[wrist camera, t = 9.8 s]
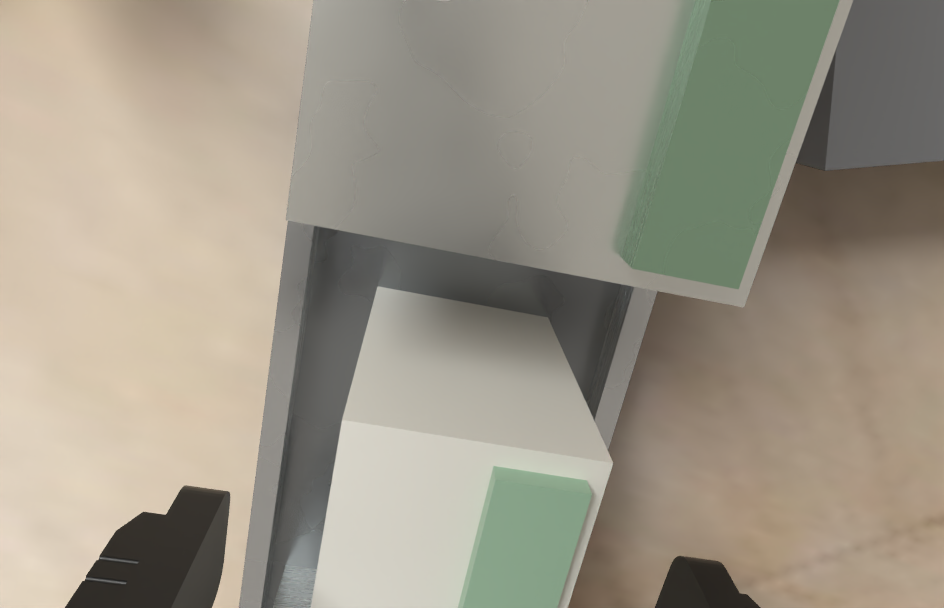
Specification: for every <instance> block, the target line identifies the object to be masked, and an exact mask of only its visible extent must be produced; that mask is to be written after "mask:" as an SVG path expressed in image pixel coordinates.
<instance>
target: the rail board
mask: <svg viewBox="0 0 944 608" xmlns="http://www.w3.org/2000/svg"><path fill="white" fill-rule="evenodd" d="M852 2H853V0H313V8H312V16H311V24H310V32H309V40H308V48H307V56H306V64H305V72H304V79H303V87H302V95H301V103H300V111H299V119H298V127H297V135H296V143H295V151H294V159H293V167H292V175H291V183H290V191H289V199H288V207H287V215H286V220H288V225H287V232H286V240H285V248H284V256H283V264H282V272H281V280H280V288H279V296H278V303H277V311H276V319H275V327H274V335H273V343H272V351H271V359H270V367H269V375H268V382H267V390H266V398H265V406H264V414H263V422H262V430H261V438H260V446H259V453H258V461H257V469H256V477H255V485H254V493H253V501H252V509H251V517H250V525H249V532H248V540H247V548H246V556H245V564H244V572H243V580H242V588H241V596H240V603H239V608H311V602H312V596H313V590H314V584H315V578H316V572H317V566H318V560H319V554H320V548H321V542H322V536H323V530H324V524H325V518H326V512H327V506H328V500H329V494H330V488H331V483H332V477H333V471H334V465H335V459H336V453H337V447H338V441H339V435H340V429H341V423H342V418H343V414H344V410H345V407H346V403H347V399H348V395H349V392H350V388H351V384H352V380H353V377H354V373H355V369H356V365H357V362H358V358H359V354H360V350H361V347H362V343H363V339H364V335H365V332H366V328H367V324H368V320H369V317H370V313H371V309H372V305H373V302H374V298H375V294H376V290H377V287H378V286H379V287H384V288H390V289H395V290H401V291H406V292H412V293H417V294H423V295H428V296H434V297H439V298H445V299H450V300H456V301H461V302H466V303H472V304H477V305H483V306H488V307H494V308H499V309H505V310H510V311H516V312H521V313H527V314H532V315H538V316H543V317H548V319H549V321H550V323H551V325H552V328H553V330H554V332H555V334H556V337H557V339H558V341H559V343H560V345H561V348H562V350H563V352H564V354H565V357H566V359H567V361H568V363H569V365H570V368H571V370H572V372H573V374H574V377H575V379H576V381H577V383H578V386H579V388H580V390H581V392H582V394H583V397H584V399H585V401H586V403H587V406H588V408H589V410H590V412H591V414H592V417H593V419H594V421H595V423H596V426H597V428H598V430H599V432H600V434H601V437H602V439H603V441H604V443H605V446H606V448H607V450H608V449H609V446H610V443H611V440H612V436H613V433H614V430H615V427H616V423H617V420H618V417H619V414H620V411H621V407H622V404H623V401H624V398H625V394H626V391H627V388H628V385H629V382H630V378H631V375H632V372H633V369H634V365H635V362H636V359H637V356H638V353H639V349H640V346H641V343H642V340H643V336H644V333H645V330H646V327H647V324H648V320H649V317H650V314H651V311H652V307H653V304H654V301H655V298H656V295H657V291H659V292H665V293H670V294H675V295H680V296H686V297H691V298H696V299H701V300H706V301H712V302H717V303H722V304H727V305H733V306H738V307H743V308H744V306H745V304H746V301H747V298H748V295H749V292H750V289H751V287H752V284H753V281H754V278H755V275H756V273H757V270H758V267H759V264H760V261H761V259H762V256H763V253H764V250H765V247H766V244H767V242H768V239H769V236H770V233H771V230H772V228H773V225H774V222H775V219H776V216H777V214H778V211H779V208H780V205H781V202H782V199H783V197H784V194H785V191H786V188H787V185H788V183H789V180H790V177H791V174H792V171H793V168H794V166H795V163H796V160H797V157H798V154H799V152H800V149H801V146H802V143H803V140H804V138H805V135H806V132H807V129H808V126H809V123H810V121H811V118H812V115H813V112H814V109H815V107H816V104H817V101H818V98H819V95H820V93H821V90H822V87H823V84H824V81H825V78H826V76H827V73H828V70H829V67H830V64H831V62H832V59H833V56H834V53H835V50H836V48H837V45H838V42H839V39H840V36H841V33H842V31H843V28H844V25H845V22H846V19H847V17H848V14H849V11H850V8H851V5H852Z"/></svg>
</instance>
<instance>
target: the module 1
mask: <svg viewBox="0 0 944 608" xmlns="http://www.w3.org/2000/svg"><path fill="white" fill-rule="evenodd" d="M612 466H613V461H612V459H611V457H610V455H609V452H608V450H607V448H606V446H605V443H604V441H603V439H602V437H601V434H600V432H599V430H598V428H597V426H596V423H595V421H594V419H593V417H592V414H591V412H590V410H589V408H588V406H587V403H586V401H585V399H584V397H583V394H582V392H581V390H580V388H579V386H578V383H577V381H576V379H575V377H574V374H573V372H572V370H571V368H570V365H569V363H568V361H567V359H566V357H565V354H564V352H563V350H562V348H561V345H560V343H559V341H558V339H557V337H556V334H555V332H554V330H553V328H552V325H551V323H550V321H549V319H548V317H543V316H538V315H532V314H527V313H521V312H516V311H510V310H505V309H499V308H494V307H488V306H483V305H477V304H472V303H466V302H461V301H456V300H450V299H445V298H439V297H434V296H428V295H423V294H417V293H412V292H406V291H401V290H395V289H390V288H384V287H379V286H378V287H377V290H376V294H375V298H374V302H373V305H372V309H371V313H370V317H369V320H368V324H367V328H366V332H365V335H364V339H363V343H362V347H361V350H360V354H359V358H358V362H357V365H356V369H355V373H354V377H353V380H352V384H351V388H350V392H349V395H348V399H347V403H346V407H345V410H344V414H343V418H342V423H341V429H340V435H339V441H338V447H337V453H336V459H335V465H334V471H333V477H332V483H331V488H330V494H329V500H328V506H327V512H326V518H325V524H324V530H323V536H322V542H321V548H320V554H319V560H318V566H317V572H316V578H315V584H314V590H313V596H312V602H311V608H568V605H569V602H570V599H571V596H572V593H573V590H574V586H575V583H576V580H577V577H578V574H579V571H580V567H581V564H582V561H583V558H584V555H585V552H586V548H587V545H588V542H589V539H590V536H591V533H592V529H593V526H594V523H595V520H596V517H597V513H598V510H599V507H600V504H601V501H602V498H603V494H604V491H605V488H606V485H607V482H608V479H609V475H610V472H611V469H612Z"/></svg>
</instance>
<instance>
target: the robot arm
mask: <svg viewBox="0 0 944 608" xmlns="http://www.w3.org/2000/svg"><path fill="white" fill-rule="evenodd" d="M229 506H230V493H229V492H228V491H221V490H214V489H207V488H200V487H193V486H184V487H183V488H182V489H181V490H180V492H179V493H178V495H177V497H176V499H175V500H174V502H173V504H172V505H171V507H170V509H169V511H168V512H167V514H166V515H162V514H155V513H148V512H142V513H141V514H140V515H138V516H137V517H135V518H134V519H132V520H131V521H130V522H128V523H127V524H125V525H124V526H123V527H121V528H120V529H118V530H117V531H116V532H115V533H114V535H113V536H112V538H111V539H110V541H109V542H108V544H107V545H106V547H105V548H104V550H103V551H102V553H101V554H100V558H99V560H96V562H95V563H94V565H93V566H92V568H91V569H90V571H89V572H88V574H87V575H86V579H85V581H82V583H81V584H80V586H79V587H78V589H77V590H76V592H75V593H74V595H73V596H72V598H71V599H70V601H69V602H68V604H67V605H66V607H65V608H212V606H213V603H214V600H215V597H216V594H217V591H218V587H219V583H220V579H221V575H222V569H223V563H224V554H225V544H226V535H227V525H228V516H229ZM655 608H760V607H759V606H758V605H757V604H756V603H755V602H754V601H753V600H752V599H751V598H750V597H749V596H748V595H747V594H740V593H739V591H738V590H737V588H736V586H735V584H734V583H733V581H732V579H731V577H730V575H729V574H728V572H727V570H726V568H725V567H724V565H723V564H722V563H720V562H718V561H713V560H705V559H698V558H691V557H684V556H678V557H676V558H675V559H674V560H673V562H672V564H671V566H670V569H669V572H668V574H667V577H666V580H665V582H664V585H663V588H662V590H661V593H660V596H659V598H658V601H657V604H656V606H655Z"/></svg>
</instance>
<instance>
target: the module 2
mask: <svg viewBox="0 0 944 608" xmlns="http://www.w3.org/2000/svg"><path fill="white" fill-rule="evenodd" d="M934 161H944V0H853V2H852V5H851V8H850V11H849V14H848V17H847V19H846V22H845V25H844V28H843V31H842V33H841V36H840V39H839V42H838V45H837V48H836V50H835V53H834V56H833V59H832V62H831V64H830V67H829V70H828V73H827V76H826V78H825V81H824V84H823V87H822V90H821V93H820V95H819V98H818V101H817V104H816V107H815V109H814V112H813V115H812V118H811V121H810V123H809V126H808V129H807V132H806V135H805V138H804V140H803V143H802V146H801V149H800V152H799V154H798V157H797V160H796V163H798V164H802V165H805V166H809V167H813V168H817V169H820V170H824V171H828V170H839V169H851V168H863V167H875V166H887V165H898V164H910V163H922V162H934Z"/></svg>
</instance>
